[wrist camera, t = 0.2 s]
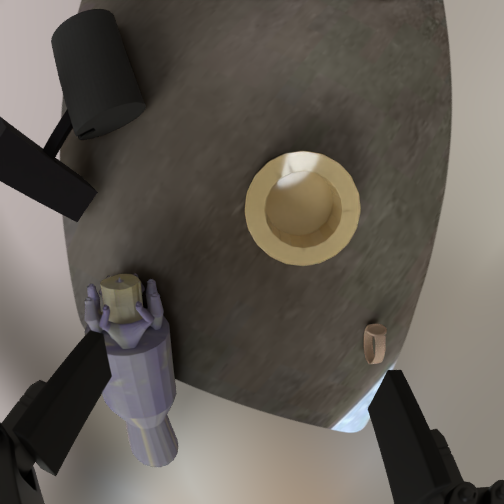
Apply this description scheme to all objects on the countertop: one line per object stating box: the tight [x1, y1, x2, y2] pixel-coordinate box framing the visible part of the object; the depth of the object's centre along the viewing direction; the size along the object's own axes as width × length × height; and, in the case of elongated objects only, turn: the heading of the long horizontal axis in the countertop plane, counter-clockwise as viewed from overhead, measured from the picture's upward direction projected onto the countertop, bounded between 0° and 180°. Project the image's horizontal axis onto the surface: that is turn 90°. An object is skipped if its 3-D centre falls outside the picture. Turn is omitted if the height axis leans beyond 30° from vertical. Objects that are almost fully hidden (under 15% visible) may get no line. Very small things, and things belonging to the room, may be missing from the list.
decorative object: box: [85, 273, 178, 467], centre depth 33 cm, size 10×10×30 cm
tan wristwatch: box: [364, 324, 387, 364], centre depth 33 cm, size 3×5×5 cm, turn 3°
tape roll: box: [245, 151, 361, 266], centre depth 28 cm, size 11×11×4 cm
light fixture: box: [0, 9, 146, 222], centre depth 23 cm, size 16×14×20 cm
